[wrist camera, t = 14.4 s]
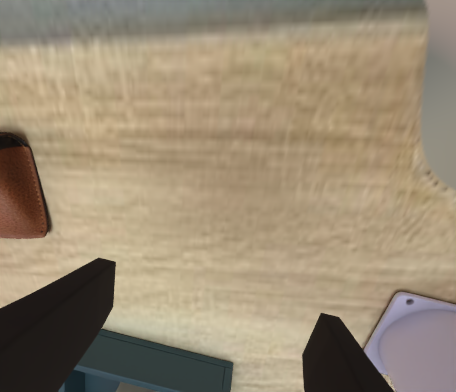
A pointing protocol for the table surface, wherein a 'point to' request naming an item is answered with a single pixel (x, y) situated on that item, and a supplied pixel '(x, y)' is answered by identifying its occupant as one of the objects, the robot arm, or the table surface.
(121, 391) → the cosmetic box
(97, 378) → the tray
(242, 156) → the table surface
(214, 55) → the table surface
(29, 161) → the sunglasses case
